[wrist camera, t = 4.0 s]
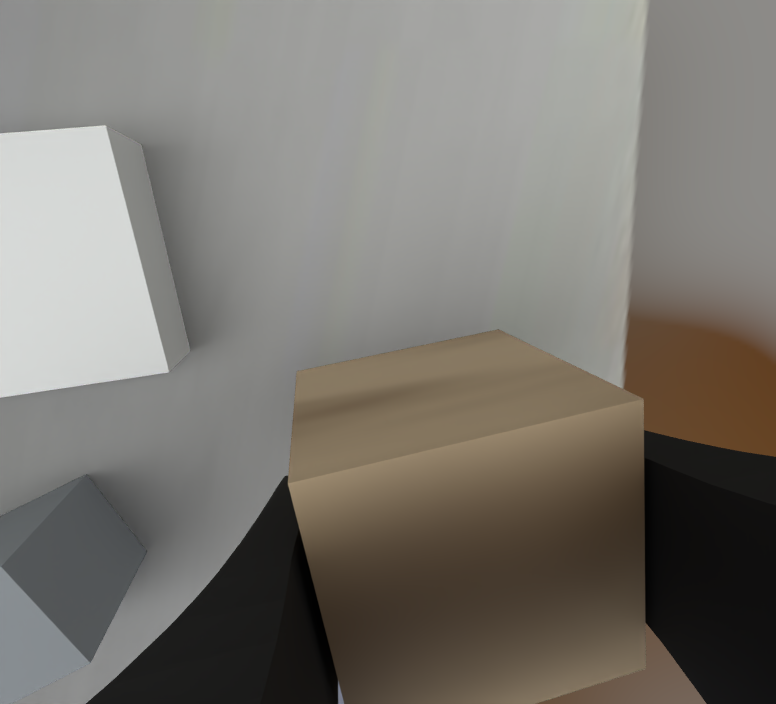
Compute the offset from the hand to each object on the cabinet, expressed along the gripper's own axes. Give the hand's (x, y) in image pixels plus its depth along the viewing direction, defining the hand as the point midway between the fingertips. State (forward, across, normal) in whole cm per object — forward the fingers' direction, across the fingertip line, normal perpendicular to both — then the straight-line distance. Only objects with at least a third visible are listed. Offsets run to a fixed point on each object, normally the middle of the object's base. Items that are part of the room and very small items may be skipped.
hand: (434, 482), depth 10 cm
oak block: (+2, 0, 0) cm, 2 cm away
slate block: (+8, +13, +4) cm, 16 cm away
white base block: (+9, +10, -6) cm, 15 cm away
